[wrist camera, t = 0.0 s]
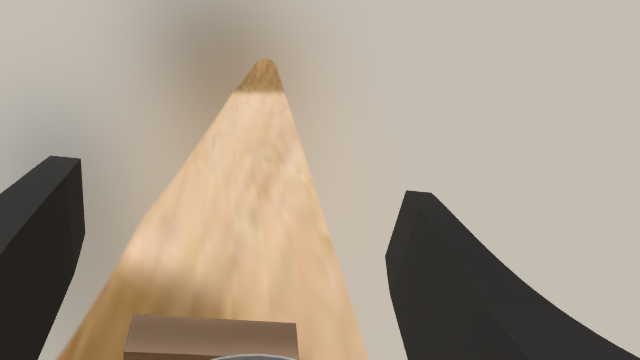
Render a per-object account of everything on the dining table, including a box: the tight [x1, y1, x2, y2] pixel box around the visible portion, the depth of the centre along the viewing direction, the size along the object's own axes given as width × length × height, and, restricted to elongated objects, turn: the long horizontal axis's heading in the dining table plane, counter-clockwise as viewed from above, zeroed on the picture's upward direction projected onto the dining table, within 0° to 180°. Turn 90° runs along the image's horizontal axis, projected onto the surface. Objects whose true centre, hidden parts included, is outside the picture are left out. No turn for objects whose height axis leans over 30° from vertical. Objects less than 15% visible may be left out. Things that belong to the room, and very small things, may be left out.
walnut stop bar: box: [124, 314, 299, 360], centre depth 36 cm, size 3×10×3 cm, turn 96°
